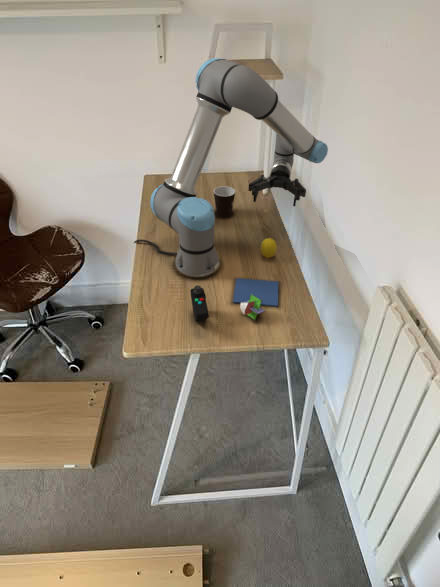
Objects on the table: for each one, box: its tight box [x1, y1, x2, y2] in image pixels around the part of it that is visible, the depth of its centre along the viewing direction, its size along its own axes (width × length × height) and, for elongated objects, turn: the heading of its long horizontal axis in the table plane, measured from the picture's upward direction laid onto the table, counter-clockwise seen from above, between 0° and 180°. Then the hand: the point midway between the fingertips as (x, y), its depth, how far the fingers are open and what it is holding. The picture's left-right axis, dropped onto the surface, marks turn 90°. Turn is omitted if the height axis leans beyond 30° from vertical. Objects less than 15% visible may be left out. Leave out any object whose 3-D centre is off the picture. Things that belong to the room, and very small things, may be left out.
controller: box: [190, 285, 210, 324], centre depth 127 cm, size 4×12×10 cm, turn 10°
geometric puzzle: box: [239, 294, 266, 321], centre depth 130 cm, size 7×7×8 cm
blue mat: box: [232, 277, 279, 308], centre depth 140 cm, size 14×12×1 cm
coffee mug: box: [213, 185, 236, 218], centre depth 176 cm, size 12×9×10 cm
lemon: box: [260, 237, 278, 259], centre depth 152 cm, size 6×6×8 cm
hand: (274, 200), depth 148 cm, fingers open, 13 cm apart
